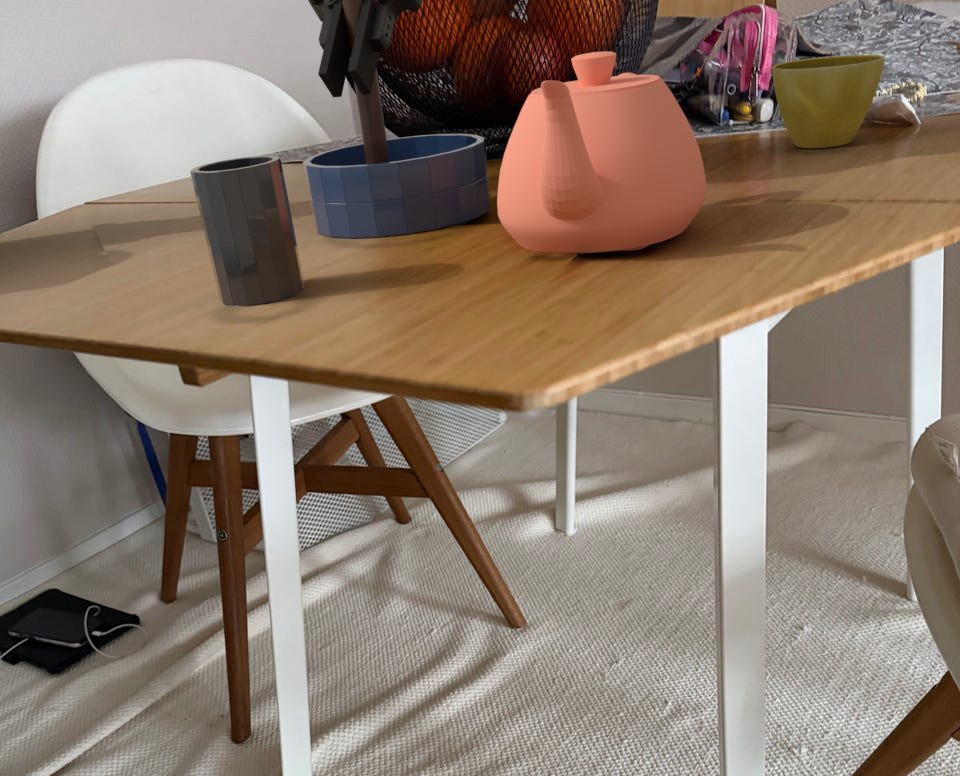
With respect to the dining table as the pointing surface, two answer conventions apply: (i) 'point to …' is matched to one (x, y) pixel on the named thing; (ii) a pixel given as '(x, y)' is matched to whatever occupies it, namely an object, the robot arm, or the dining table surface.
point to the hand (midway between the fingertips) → (344, 83)
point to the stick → (367, 97)
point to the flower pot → (826, 97)
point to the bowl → (399, 187)
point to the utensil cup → (249, 230)
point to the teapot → (600, 163)
